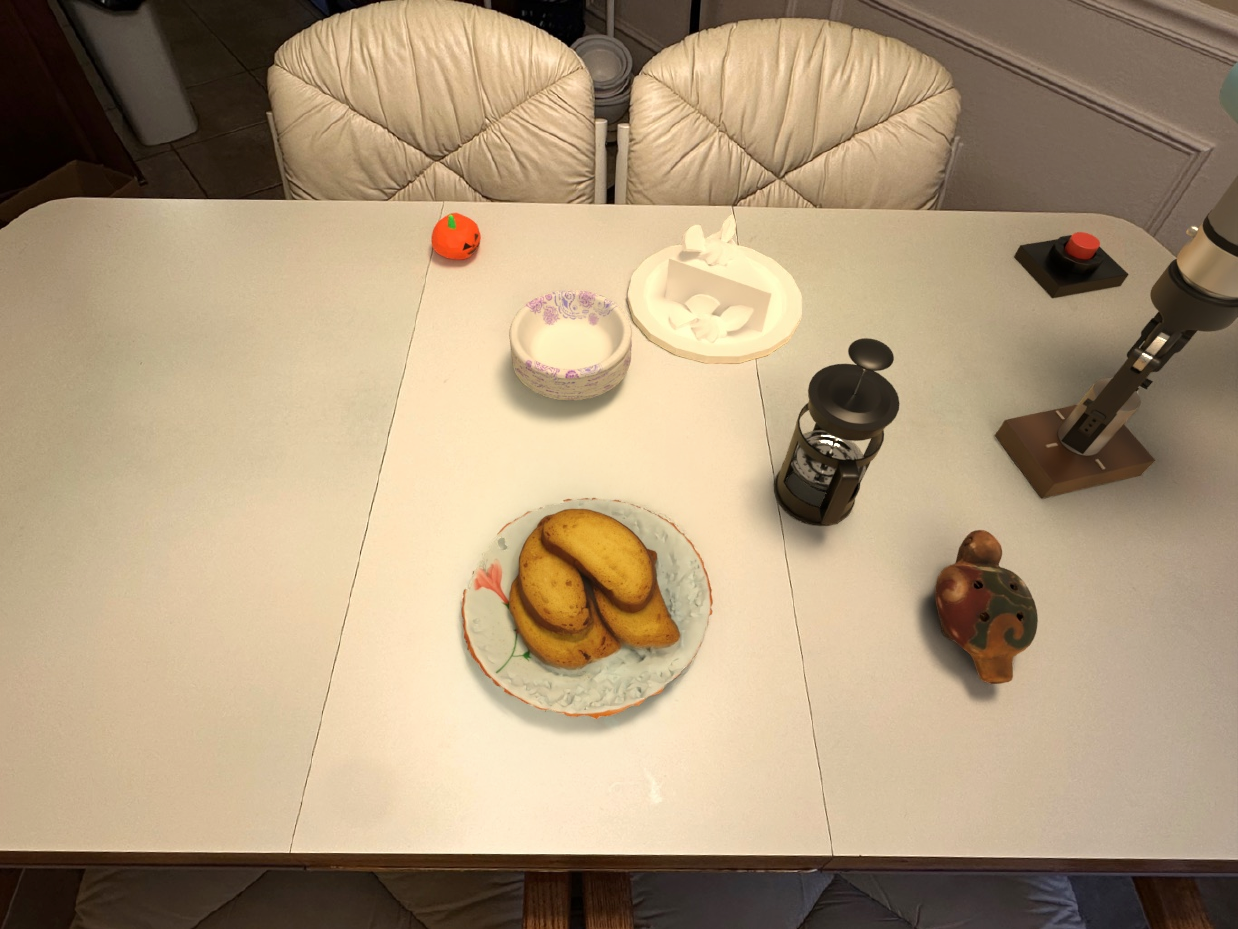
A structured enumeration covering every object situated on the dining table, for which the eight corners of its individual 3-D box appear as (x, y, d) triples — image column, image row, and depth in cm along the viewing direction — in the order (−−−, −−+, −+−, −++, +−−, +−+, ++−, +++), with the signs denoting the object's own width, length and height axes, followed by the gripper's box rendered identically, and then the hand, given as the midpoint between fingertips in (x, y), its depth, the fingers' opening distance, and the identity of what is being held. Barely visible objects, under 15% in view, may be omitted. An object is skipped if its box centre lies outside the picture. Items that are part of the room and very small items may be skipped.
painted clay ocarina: (988, 557, 82) (1026, 522, 76) (1032, 694, 74) (1080, 669, 67) (903, 555, 82) (935, 520, 75) (938, 694, 73) (977, 669, 67)
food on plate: (435, 703, 71) (422, 677, 66) (498, 492, 86) (491, 458, 81) (700, 744, 69) (708, 721, 64) (717, 522, 84) (725, 488, 79)
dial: (1069, 417, 91) (1106, 369, 85) (1108, 440, 89) (1150, 393, 82) (1050, 438, 89) (1086, 391, 82) (1089, 462, 87) (1130, 416, 80)
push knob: (1081, 241, 112) (1088, 230, 110) (1098, 258, 110) (1106, 246, 108) (1058, 245, 111) (1065, 233, 110) (1075, 262, 109) (1082, 250, 107)
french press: (768, 455, 90) (812, 310, 72) (845, 456, 90) (909, 312, 72) (781, 538, 83) (833, 401, 65) (864, 539, 83) (940, 403, 65)
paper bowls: (531, 429, 92) (526, 385, 85) (502, 347, 100) (496, 301, 94) (646, 401, 95) (650, 357, 89) (609, 324, 104) (610, 278, 97)
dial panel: (1089, 414, 96) (1102, 398, 93) (1141, 475, 90) (1156, 459, 87) (994, 435, 93) (1005, 418, 91) (1041, 498, 87) (1054, 483, 85)
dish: (592, 294, 107) (592, 227, 98) (714, 228, 117) (724, 162, 108) (713, 391, 96) (725, 326, 87) (836, 309, 107) (858, 243, 98)
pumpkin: (483, 234, 115) (478, 198, 110) (480, 267, 110) (474, 231, 105) (436, 235, 115) (429, 198, 109) (431, 268, 110) (423, 231, 105)
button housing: (1079, 245, 117) (1093, 224, 114) (1120, 286, 111) (1136, 264, 108) (1013, 256, 115) (1025, 234, 112) (1052, 298, 109) (1065, 276, 106)
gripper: (1211, 219, 75) (1089, 379, 94) (1134, 298, 67) (1017, 455, 86) (1290, 254, 72) (1147, 412, 90) (1219, 341, 64) (1079, 494, 83)
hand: (1084, 432), depth 88 cm, fingers closed on dial, 5 cm apart
